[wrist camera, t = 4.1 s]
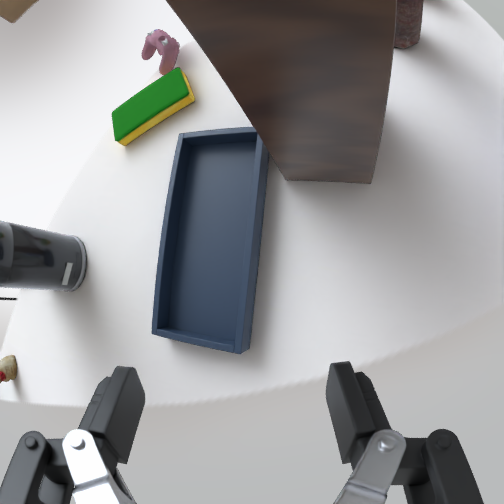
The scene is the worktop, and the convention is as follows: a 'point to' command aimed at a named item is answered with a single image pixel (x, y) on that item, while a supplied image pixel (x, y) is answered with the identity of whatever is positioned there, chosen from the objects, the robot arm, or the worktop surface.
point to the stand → (304, 76)
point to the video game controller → (161, 49)
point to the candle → (408, 22)
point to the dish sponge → (151, 106)
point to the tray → (211, 239)
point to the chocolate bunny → (8, 368)
